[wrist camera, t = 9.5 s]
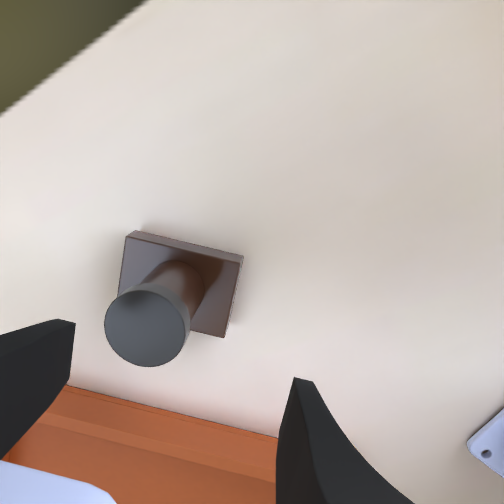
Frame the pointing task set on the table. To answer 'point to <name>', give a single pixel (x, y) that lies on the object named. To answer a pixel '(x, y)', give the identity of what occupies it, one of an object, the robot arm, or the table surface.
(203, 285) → the stamp
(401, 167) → the table surface
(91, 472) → the tray
